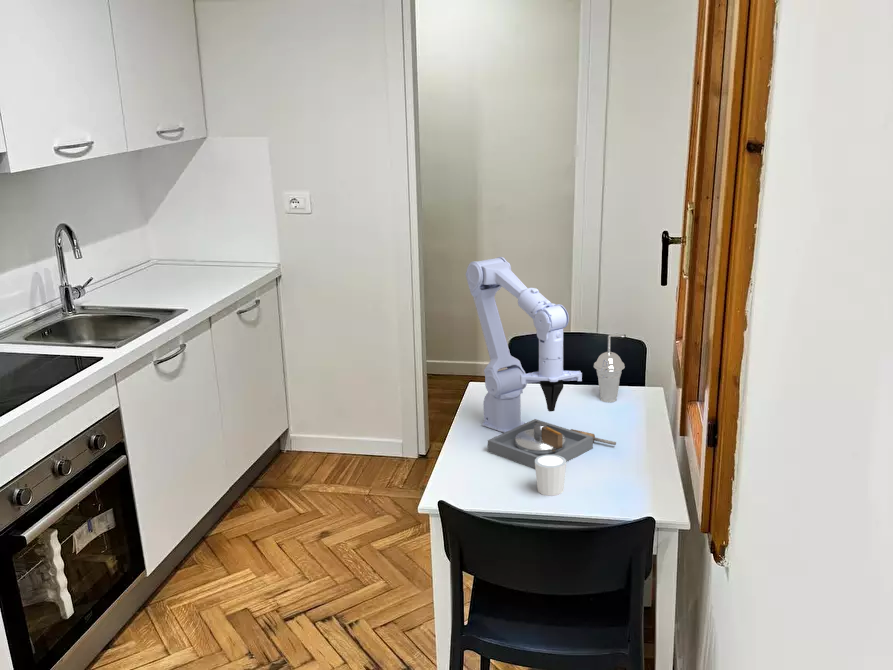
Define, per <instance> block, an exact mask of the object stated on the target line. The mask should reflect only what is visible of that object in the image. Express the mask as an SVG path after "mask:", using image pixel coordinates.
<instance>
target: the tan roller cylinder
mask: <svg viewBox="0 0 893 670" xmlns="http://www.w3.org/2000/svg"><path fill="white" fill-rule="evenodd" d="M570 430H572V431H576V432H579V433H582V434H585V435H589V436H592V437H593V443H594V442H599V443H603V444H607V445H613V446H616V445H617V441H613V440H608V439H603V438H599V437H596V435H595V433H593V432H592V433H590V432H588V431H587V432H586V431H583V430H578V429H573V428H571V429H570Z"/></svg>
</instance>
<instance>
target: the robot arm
mask: <svg viewBox="0 0 893 670" xmlns="http://www.w3.org/2000/svg"><path fill="white" fill-rule="evenodd" d="M465 278H466V282H467V285H468V289H469V292H470V295H471V296H472V298H473V302H474V304H475V305H474V306H475V309H476V313H477V317H478V320H479V323H480V326H481V331H482V335H483V338H484V342H485V346H486V349H487V353H488V356H489V360H490V361H489V362H488V364H487V365H486V366H485V368H484V370H483V372H484V373H483V374H484V377H485V378H484V379H485V380H484V384H485V388H486V391H487V393H485V395H484V399H483V404H482V406H483V422H482V423H481V425H482V426H483V427H486V428H489V429H492V430H495V431H498V432H501V433H502V434H503V433H505V432H507V431H509V430H512V429H514V428H516V427H518V426H521V425H523V424H525V423H526V422H524V421H522V420H521V419H522V416H521V414H522V413H521V411H522V409H521V408H522V406H521V403H522V402H521V395H522V394H523V393H524V391H523V390H524V389H525V388H526V387H527V385H528V384H534V383H535V384H536V383H539V385H540V388H541V390H542V393H543V395H544V397H545V399H544V400H545V403H546V408H547V411H548V412H555V409H556V406H557V401H558V398H559V396H560V394H561V392H562V391H563V389H564V383H563V382H570V381H577V382H583V379H582V378H583V372H581V370H564V329H565V328H566V327H567V326H568V325H569V321H570V319H569V318H570V316H569V313H568V311H567V309H566V307H564V305H562V304H559V303H558V304H556V303H552V302H551V301H550V300H549V299H547V298H546V296H544V295H543V294H542V293H541V292H540V290H539V289H537V288H538V287H537V288H536V287H527V286H526V285H525V284H524V283H523V282H522V280H520V279H519V277H518V276H517V275H516V274H515V273H514V272H513V271H512V266H511V263H510V262H508V261H507V260H506V258H505V257H503V256H498V257H496V258H489V259H483V260H477V261H475V260H474V261H470V262H469V264H468V266H467V268H466V272H465ZM502 288H503V289H504V290H506V291H507V292H509V294H511V296H513V297H515V298H516V299H517V304H518V307H519V308H520V309H522V310H523V311H524V312H525V313H526V314H527V315H528V316H529V317H530V318H531V319H532V321H533V326H534V328H535V330H536V337H537V339H538V370H537V371H533V372H528V373H526V371H525V370H524V368H523V367H522V364H521V363H522V362H521V360H519V359H518V358H516V357H514V356H512V355H511V353H510V349H509V345H508V341H507V338H506V334H505V331H504V326H503V323H502V319H501V316H500V313H499V309H498V305H497V303H496V297H495V296H496V294H497V292H498V291H499V290H500V289H502ZM504 368H506V369H504Z"/></svg>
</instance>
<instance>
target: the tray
mask: <svg viewBox="0 0 893 670" xmlns="http://www.w3.org/2000/svg"><path fill="white" fill-rule="evenodd" d="M538 422H542V423H545V424H546V426H547V427H549V428H552V429H554V430H556V431H558V432H560V433H562V434H563V435H564V436H565V447H564V449H562V450H561V451H559V452H556V453H552V454H545V455H558V456H561V457H564V458H565V459H566V463H567V461H568V462H569V460H570V461H571V459H572V460H573V458H574V459H575V458H578V457H579V456H581V455H583V454H585V453H587V452H589V451H590V450H592V449H594V442H593V437H592V436H589V435H585V434H582V433H579V432H576V431H572V430H571V429H569V428H566V427H562V426H559V425H555V424H553V423H550V422H546V421H543V420H539V419H537V418H534V419H531V420H529V421H528V422H525V424H523V425H521V426H518V427H516V428H514V429H512V430H509V431H507V432H505V433H503V432H502V433H500V434H499V435H496V436H494V437H491V438H490V439H488V440H487V452H488V453H489V454H490V453H491V454H493V455H496V456H498V457H499V456H500V458H501V457H502V458H504V459H506V460H510V461H513V462H515V463H517V464H521V465H524V466H526V467H529V468H532V469H535V459H536V458H537V457H539V456H542V455H537V454H532V453H529V452H526V451H523V450H520V449H518V448H517V447H516V444H515V438H516V435H517V434H519V433H520V432H522V431H525V430H530V429H534V424H535V423H538ZM535 470H536V469H535Z"/></svg>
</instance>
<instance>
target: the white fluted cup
mask: <svg viewBox="0 0 893 670" xmlns="http://www.w3.org/2000/svg"><path fill="white" fill-rule="evenodd" d="M566 468H567V462H566V459H565V458H564V457H561V456H558V455H542V456H539V457H537V458H536V459H535V477H536V489H537V492H538V493H539V494H541V495H543V496H547V497H555V496H559V495H561V494H562V493H563V492H564V490H565V481H566V470H567V469H566Z"/></svg>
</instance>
